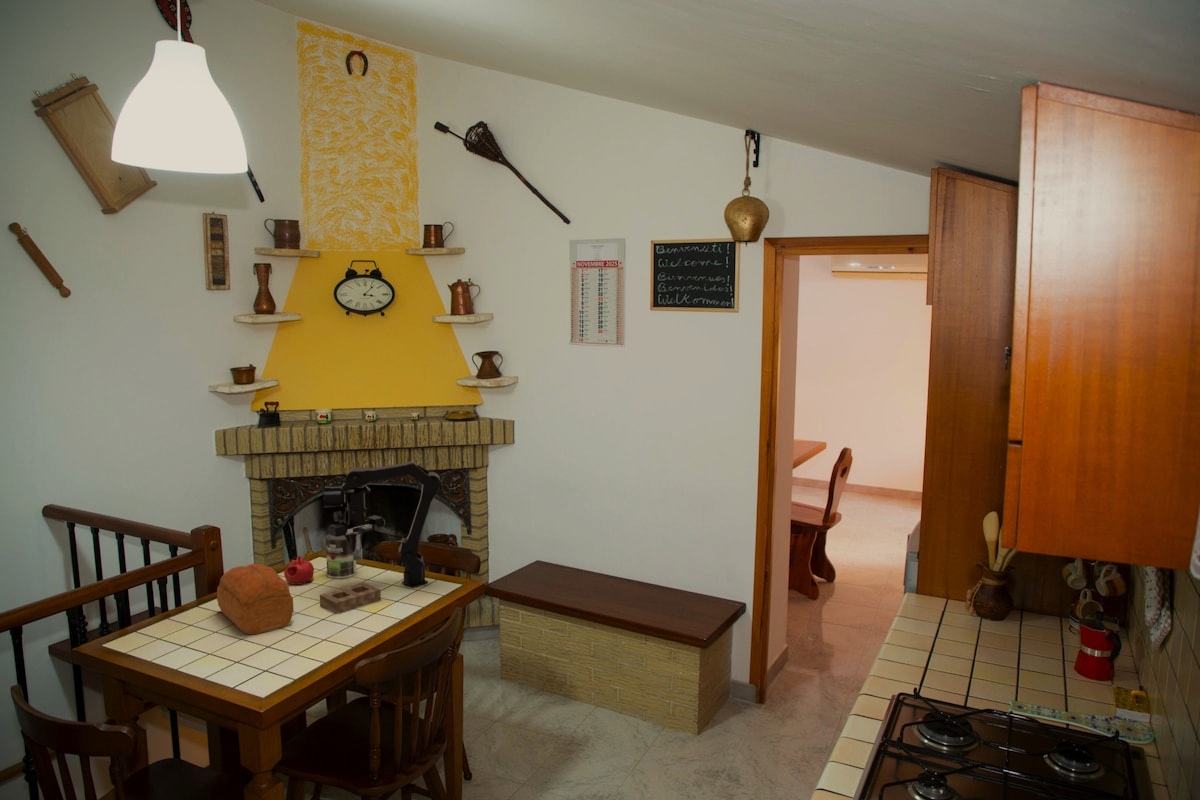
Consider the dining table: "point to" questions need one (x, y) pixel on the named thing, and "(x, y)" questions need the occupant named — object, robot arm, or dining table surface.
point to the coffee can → (339, 557)
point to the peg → (358, 546)
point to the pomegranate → (299, 571)
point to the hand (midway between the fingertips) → (357, 550)
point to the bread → (255, 598)
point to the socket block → (350, 597)
